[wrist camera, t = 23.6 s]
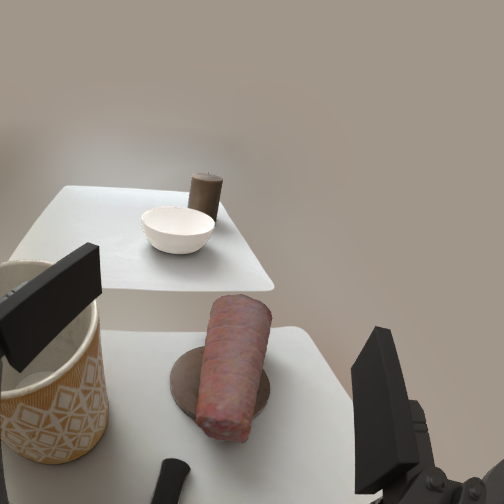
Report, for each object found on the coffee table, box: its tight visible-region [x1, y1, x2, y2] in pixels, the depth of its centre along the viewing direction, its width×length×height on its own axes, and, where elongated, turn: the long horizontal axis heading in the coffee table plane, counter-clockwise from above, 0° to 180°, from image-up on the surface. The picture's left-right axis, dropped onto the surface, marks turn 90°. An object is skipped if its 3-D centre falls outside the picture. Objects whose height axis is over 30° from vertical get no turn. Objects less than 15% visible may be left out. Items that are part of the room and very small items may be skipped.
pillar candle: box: [188, 173, 223, 222], centre depth 90 cm, size 10×10×15 cm
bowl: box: [141, 206, 215, 254], centre depth 71 cm, size 18×18×7 cm
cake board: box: [170, 346, 270, 419], centre depth 38 cm, size 14×14×1 cm
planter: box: [0, 260, 109, 464], centre depth 22 cm, size 19×19×16 cm
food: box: [196, 294, 272, 443], centre depth 36 cm, size 21×9×9 cm, turn 0°
